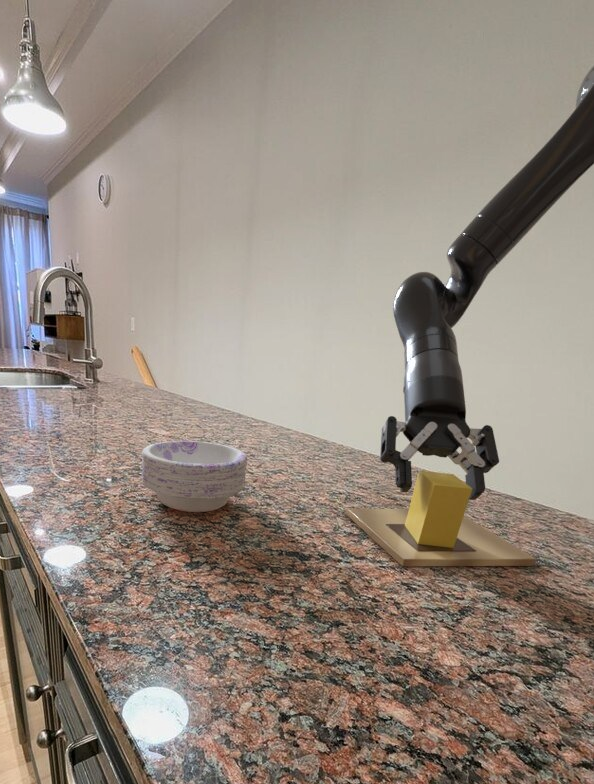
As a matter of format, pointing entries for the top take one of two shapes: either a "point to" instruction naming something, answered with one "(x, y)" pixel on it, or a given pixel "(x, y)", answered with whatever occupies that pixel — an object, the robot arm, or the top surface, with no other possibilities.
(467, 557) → the board
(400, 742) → the top surface
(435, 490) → the yellow block
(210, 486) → the paper bowls
